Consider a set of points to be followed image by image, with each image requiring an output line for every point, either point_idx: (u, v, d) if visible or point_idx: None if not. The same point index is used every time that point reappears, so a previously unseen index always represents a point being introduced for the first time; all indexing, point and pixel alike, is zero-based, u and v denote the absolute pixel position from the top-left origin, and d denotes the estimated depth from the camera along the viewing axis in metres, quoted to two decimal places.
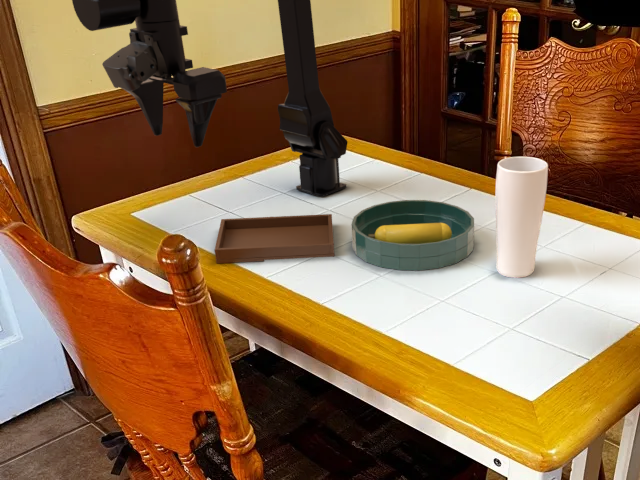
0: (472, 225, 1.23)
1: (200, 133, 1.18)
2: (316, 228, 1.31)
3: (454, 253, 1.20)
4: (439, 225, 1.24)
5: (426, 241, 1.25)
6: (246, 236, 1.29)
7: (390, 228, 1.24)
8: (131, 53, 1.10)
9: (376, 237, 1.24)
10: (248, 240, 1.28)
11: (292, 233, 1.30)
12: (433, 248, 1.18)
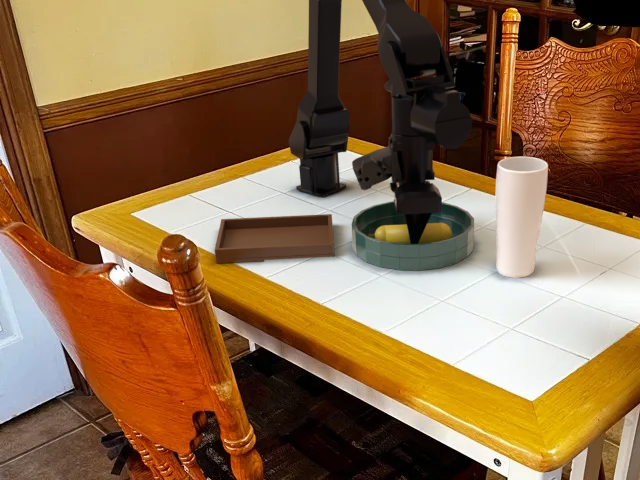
0: (472, 225, 1.23)
1: (416, 233, 1.23)
2: (316, 228, 1.31)
3: (454, 253, 1.20)
4: (439, 225, 1.24)
5: (426, 241, 1.25)
6: (246, 236, 1.29)
7: (390, 228, 1.24)
8: (375, 157, 1.18)
9: (376, 237, 1.24)
10: (248, 240, 1.28)
11: (292, 233, 1.30)
12: (433, 248, 1.18)
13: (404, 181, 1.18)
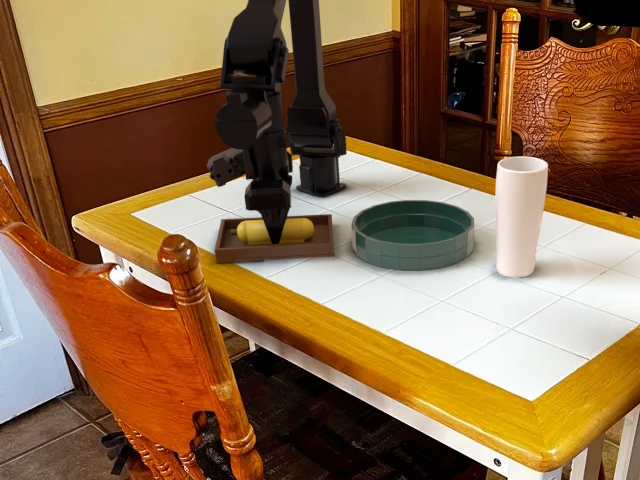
0: (472, 225, 1.23)
1: (276, 232, 1.23)
2: (316, 228, 1.31)
3: (454, 253, 1.20)
4: (300, 220, 1.26)
5: (288, 236, 1.26)
6: None
7: (251, 223, 1.25)
8: (229, 154, 1.19)
9: (238, 232, 1.26)
10: None
11: None
12: (433, 248, 1.18)
13: (258, 178, 1.19)
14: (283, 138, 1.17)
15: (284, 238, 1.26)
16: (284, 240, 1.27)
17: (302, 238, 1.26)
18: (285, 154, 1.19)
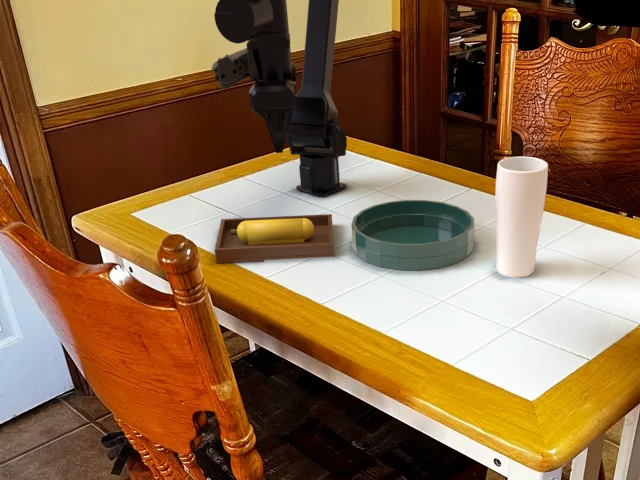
0: (472, 225, 1.23)
1: (279, 141, 1.23)
2: (316, 228, 1.31)
3: (454, 253, 1.20)
4: (300, 220, 1.26)
5: (288, 236, 1.26)
6: None
7: (251, 223, 1.25)
8: (233, 56, 1.20)
9: (238, 232, 1.26)
10: None
11: None
12: (433, 248, 1.18)
13: (262, 80, 1.21)
14: (287, 39, 1.18)
15: (284, 238, 1.26)
16: (284, 240, 1.27)
17: (302, 238, 1.26)
18: (289, 56, 1.21)
